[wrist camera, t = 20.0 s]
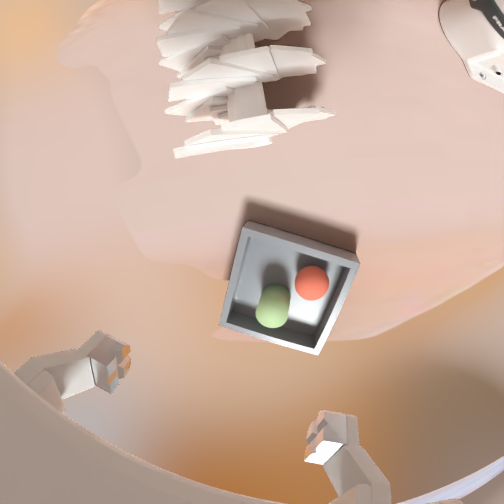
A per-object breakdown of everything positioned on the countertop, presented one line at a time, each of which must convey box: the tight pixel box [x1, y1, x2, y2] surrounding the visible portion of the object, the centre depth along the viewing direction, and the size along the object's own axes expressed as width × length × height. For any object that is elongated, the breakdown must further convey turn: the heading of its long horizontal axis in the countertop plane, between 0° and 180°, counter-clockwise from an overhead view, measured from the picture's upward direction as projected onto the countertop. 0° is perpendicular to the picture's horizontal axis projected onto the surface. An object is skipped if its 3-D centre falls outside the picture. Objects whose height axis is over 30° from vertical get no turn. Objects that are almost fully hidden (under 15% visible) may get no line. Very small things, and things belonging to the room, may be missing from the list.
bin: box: [219, 220, 360, 355], centre depth 40 cm, size 16×16×4 cm
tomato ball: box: [295, 266, 329, 301], centre depth 38 cm, size 5×5×5 cm
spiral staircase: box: [156, 0, 336, 159], centre depth 24 cm, size 18×18×25 cm
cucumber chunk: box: [256, 284, 291, 328], centre depth 40 cm, size 4×4×5 cm
